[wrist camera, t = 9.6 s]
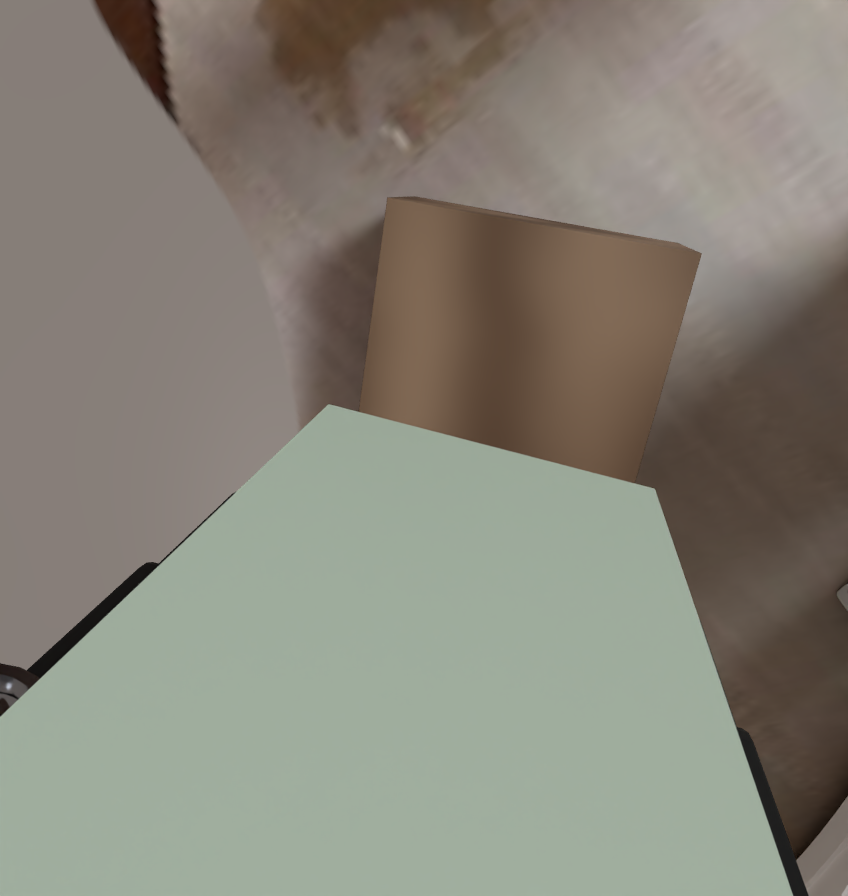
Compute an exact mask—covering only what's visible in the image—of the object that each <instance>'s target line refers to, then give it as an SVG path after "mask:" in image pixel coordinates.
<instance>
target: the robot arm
mask: <svg viewBox="0 0 848 896" xmlns="http://www.w3.org/2000/svg"><path fill="white" fill-rule="evenodd" d="M235 493H236V492H235ZM235 493H233V494H232V495H231V496H230V497H232V496H233V495H234V494H235ZM230 497H228V498H227V499H226V500H225V501H224V502H223V503H222V504H221V505H220V506H219V507H218V508H217V509H216V510H215V511H214V512H213V513H212V514H210V515H209V516H208V518H209V517H211V516H212V515H213V514H214V513H215V512H216V511H217V510H218V509H219V508H220V507H221V506H222V505H223V504H224V503H225V502H226V501H227V500H228V499H229V498H230ZM208 518H206V519H205V520H204V521H203V522H202V523H201V524H200V525H199V526H198V527H197V528H196V529H195V530H194V531H192V533H190V534H189V535H188V536H187V537H186V538H185V539H184V540H183V541H182V542H181V543H180V544H179V545H178V546H177V547H176V548H175V549H173V551H171V552H170V554H168V555H167V556H166V557H165V558H164V559H163V560H162V561H161V562H160V563H159V564H158V563H154V562H149V563H146V564H144V565H143V566H141V567H140V568H138V569H137V570H136V571H135V572H134V573H133V574H132V575H131V576H130V577H129V578H128V579H126V580H125V581H124V582H123V583H122V584H121V585H120V586H119V587H118V588H116V589H115V590H114V591H113V592H112V593H111V594H110V595H109V596H108V597H107V598H105V600H103V601H102V602H101V603H100V604H99V605H98V606H97V607H96V608H95V609H93V610H92V611H91V612H90V613H89V614H88V615H87V616H86V617H85V618H84V619H82V620H81V621H80V622H79V623H78V624H77V625H76V626H75V627H74V628H73V629H72V630H70V631H69V632H68V633H67V634H66V635H65V636H64V637H63V638H62V639H61V640H60V641H58V642H57V643H56V644H55V645H54V646H53V647H52V648H51V649H50V650H49V651H47V652H46V653H45V654H44V655H43V656H42V657H41V658H40V659H39V660H38V661H37V662H35V663H34V664H33V665H32V666H31V667H30V668H29V669H28V670H27V671H26V670H24V669H22V668H20V667H16V666H11V665H5V664H1V663H0V717H1V716H2V715H3V714H4V713H5V712H6V711H7V710H8V709H9V708H10V707H11V706H12V705H13V704H14V703H15V702H16V701H17V700H18V699H19V698H20V697H22V696H23V695H24V694H25V693H26V692H27V691H28V690H29V689H30V688H31V687H32V686H33V685H34V684H35V683H36V682H37V681H38V680H39V679H40V678H41V677H43V676H44V675H45V674H46V673H47V672H48V671H49V670H50V669H51V668H52V667H53V666H54V665H55V664H56V663H57V662H58V661H59V660H60V659H61V658H62V657H64V656H65V655H66V654H67V653H68V652H69V651H70V650H71V649H72V648H73V647H74V646H75V645H76V644H77V643H78V642H79V641H80V640H81V639H82V638H83V637H85V636H86V635H87V634H88V633H89V632H90V631H91V630H92V629H93V628H94V627H95V626H96V625H97V624H98V623H99V622H100V621H101V620H102V619H103V618H104V617H106V616H107V615H108V614H109V613H110V612H111V611H112V610H113V609H114V608H115V607H116V606H117V605H118V604H119V603H120V602H121V601H122V600H123V599H124V598H125V597H127V596H128V595H129V594H130V593H131V592H132V591H133V590H134V589H135V588H136V587H137V586H138V585H139V584H140V583H141V582H142V581H143V580H144V579H145V578H146V577H148V576H149V575H150V574H151V573H152V572H153V571H154V570H155V569H156V568H157V567H158V566H159V565H160V564H161V563H162V562H163V561H164V560H165V559H166V558H167V557H169V556H170V555H171V554H172V553H173V552H174V551H175V550H176V549H177V548H178V547H179V546H180V545H181V544H182V543H183V542H184V541H185V540H186V539H187V538H188V537H190V536H191V535H192V534H193V533H194V532H195V531H196V530H197V529H198V528H199V527H200V526H201V525H202V524H203V523H204V522H205V521H206V520H207V519H208ZM700 623H701V621H700ZM701 626H702V624H701ZM702 629H703V627H702ZM703 632H704V630H703ZM704 635H705V633H704ZM705 638H706V636H705ZM706 641H707V639H706ZM707 644H708V642H707ZM708 647H709V645H708ZM709 650H710V648H709ZM710 653H711V651H710ZM711 656H712V653H711ZM712 659H713V656H712ZM713 661H714V659H713ZM714 664H715V662H714ZM715 667H716V665H715ZM716 670H717V668H716ZM717 673H718V671H717ZM718 676H719V674H718ZM719 679H720V677H719ZM720 682H721V680H720ZM721 685H722V683H721ZM722 688H723V686H722ZM723 691H724V689H723ZM724 694H725V692H724ZM725 697H726V695H725ZM726 700H727V697H726ZM727 703H728V700H727ZM728 706H729V703H728ZM729 709H730V706H729ZM730 711H731V709H730ZM731 714H732V712H731ZM732 717H733V715H732ZM733 720H734V718H733ZM734 723H735V721H734ZM735 726H736V724H735ZM736 729H737V732H738V735H739V738H740V741H741V744H742V747H743V750H744V753H745V756H746V759H747V762H748V764H749V767H750V770H751V773H752V776H753V779H754V782H755V785H756V788H757V791H758V794H759V797H760V800H761V803H762V806H763V809H764V812H765V814H766V817H767V820H768V823H769V826H770V829H771V832H772V835H773V838H774V841H775V844H776V847H777V850H778V853H779V856H780V859H781V862H782V865H783V867H784V870H785V873H786V876H787V879H788V882H789V885H790V888H791V891H792V894H793V896H809V895H808V892H807V889H806V887H805V884H804V881H803V878H802V876H801V873H800V870H799V867H798V865H797V862H796V859H795V856H794V853H793V851H792V848H791V845H790V842H789V840H788V837H787V834H786V831H785V829H784V826H783V823H782V820H781V818H780V815H779V812H778V809H777V807H776V804H775V801H774V798H773V795H772V793H771V790H770V787H769V784H768V782H767V779H766V776H765V773H764V771H763V768H762V765H761V762H760V760H759V757H758V754H757V751H756V748H755V746H754V743H753V741H752V739H751V737H750V735H749V733H748V732H746V731H745V730H743V729H742V728H738V727H736Z"/></svg>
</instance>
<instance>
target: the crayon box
mask: <svg viewBox="0 0 848 896" xmlns="http://www.w3.org/2000/svg"><path fill="white" fill-rule="evenodd" d="M837 597H838V599H839V600H840V602H841V603H842V604H843V606H844V607H845V608H846V610H847V611H848V584H846V585H844V586H843V587H842V588H841V589H840V590H839V591H838V592H837Z"/></svg>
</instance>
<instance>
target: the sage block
mask: <svg viewBox="0 0 848 896" xmlns="http://www.w3.org/2000/svg"><path fill="white" fill-rule="evenodd" d="M0 896H793V894H792V891H791V888H790V885H789V882H788V879H787V876H786V873H785V870H784V867H783V865H782V862H781V859H780V856H779V853H778V850H777V847H776V844H775V841H774V838H773V835H772V832H771V829H770V826H769V823H768V820H767V817H766V814H765V812H764V809H763V806H762V803H761V800H760V797H759V794H758V791H757V788H756V785H755V782H754V779H753V776H752V773H751V770H750V767H749V764H748V762H747V759H746V756H745V753H744V750H743V747H742V744H741V741H740V738H739V735H738V732H737V729H736V726H735V723H734V720H733V717H732V714H731V711H730V709H729V706H728V703H727V700H726V697H725V694H724V691H723V688H722V685H721V682H720V679H719V676H718V673H717V670H716V667H715V664H714V661H713V659H712V656H711V653H710V650H709V647H708V644H707V641H706V638H705V635H704V632H703V629H702V626H701V623H700V620H699V617H698V614H697V611H696V609H695V606H694V603H693V600H692V597H691V594H690V591H689V588H688V585H687V582H686V579H685V576H684V573H683V570H682V567H681V564H680V561H679V558H678V556H677V553H676V550H675V547H674V544H673V541H672V538H671V535H670V532H669V529H668V526H667V523H666V520H665V517H664V514H663V511H662V508H661V506H660V503H659V500H658V497H657V494H656V491H655V489H654V488H650V487H646V486H642V485H639V484H635V483H631V482H627V481H623V480H619V479H615V478H612V477H608V476H604V475H600V474H596V473H592V472H588V471H585V470H581V469H577V468H573V467H569V466H565V465H561V464H558V463H554V462H550V461H546V460H542V459H538V458H534V457H531V456H527V455H523V454H519V453H515V452H511V451H507V450H504V449H500V448H496V447H492V446H488V445H484V444H480V443H477V442H473V441H469V440H465V439H461V438H457V437H453V436H450V435H446V434H442V433H438V432H434V431H430V430H427V429H423V428H419V427H415V426H411V425H407V424H403V423H400V422H396V421H392V420H388V419H384V418H380V417H376V416H373V415H369V414H365V413H361V412H357V411H353V410H349V409H346V408H342V407H338V406H334V405H330V404H328V405H327V406H326V407H325V408H324V409H323V410H322V411H321V412H320V413H319V414H318V415H317V416H316V417H314V418H313V419H312V420H311V421H310V422H309V423H308V424H307V425H306V426H305V427H304V428H303V429H302V430H301V431H300V432H299V433H298V434H297V435H296V436H295V437H294V438H292V439H291V440H290V441H289V442H288V443H287V444H286V445H285V446H284V447H283V448H282V449H281V450H280V451H279V452H278V453H277V454H276V455H275V456H274V457H272V458H271V459H270V460H269V461H268V462H267V463H266V464H265V465H264V466H263V467H262V468H261V469H260V470H259V471H258V472H257V473H256V474H255V475H254V476H253V477H252V478H250V479H249V481H247V482H246V483H245V484H244V485H243V486H242V487H241V488H240V489H239V490H238V491H237V492H236V493H235V494H234V495H233V496H232V497H230V498H229V499H228V500H227V501H226V502H225V503H224V504H223V505H222V506H221V507H220V508H219V509H218V510H217V511H216V512H215V513H214V514H213V515H212V516H211V517H209V518H208V519H207V520H206V521H205V522H204V523H203V524H202V525H201V526H200V527H199V528H198V529H197V530H196V531H195V532H194V533H193V534H192V535H191V536H190V537H188V538H187V539H186V540H185V541H184V542H183V543H182V544H181V545H180V546H179V547H178V548H177V549H176V550H175V551H174V552H173V553H172V554H171V555H170V556H169V557H167V558H166V559H165V560H164V561H163V562H162V563H161V564H160V565H159V566H158V567H157V568H156V569H155V570H154V571H153V572H152V573H151V574H150V575H149V576H148V577H146V578H145V579H144V580H143V581H142V582H141V583H140V584H139V585H138V586H137V587H136V588H135V589H134V590H133V591H132V592H131V593H130V594H129V595H128V596H127V597H125V598H124V599H123V600H122V601H121V602H120V603H119V604H118V605H117V606H116V607H115V608H114V609H113V610H112V611H111V612H110V613H109V614H108V615H107V616H106V617H104V618H103V619H102V620H101V621H100V622H99V623H98V624H97V625H96V626H95V627H94V628H93V629H92V630H91V631H90V632H89V633H88V634H87V635H86V636H85V637H83V638H82V639H81V640H80V641H79V642H78V643H77V644H76V645H75V646H74V647H73V648H72V649H71V650H70V651H69V652H68V653H67V654H66V655H65V656H64V657H62V658H61V659H60V660H59V661H58V662H57V663H56V664H55V665H54V666H53V667H52V668H51V669H50V670H49V671H48V672H47V673H46V674H45V675H44V676H43V677H41V678H40V679H39V680H38V681H37V682H36V683H35V684H34V685H33V686H32V687H31V688H30V689H29V690H28V691H27V692H26V693H25V694H24V695H23V696H22V697H20V698H19V699H18V700H17V701H16V702H15V703H14V704H13V705H12V706H11V707H10V708H9V709H8V710H7V711H6V712H5V713H4V714H3V715H2V716H1V717H0Z"/></svg>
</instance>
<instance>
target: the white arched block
mask: <svg viewBox="0 0 848 896" xmlns="http://www.w3.org/2000/svg"><path fill="white" fill-rule="evenodd" d="M796 862H797V865H798V867H799V870H800V873H801V876H802V878H803V881H804V884H805V887H806V889H807V892H808V895H809V896H848V796H847V798H846V799H845V800H844V802H843V803H842V805H841V806H840V807H839V809H838V810H837V811H836V813H835V814H834V816H833V817H832V818H831V819H830V821H829V822H828V823H827V825H826V826H825V827H824V828H823V830H822V831H821V832H820V834H819V835H818V836H817V837H816V838H815V840H814V841H813V842H812V843H811V844H810V846H809V847H808V848H807V849H806V850H805V851H804V852H803V854H802V855H801V856H800V857H799V858H798V859H797V860H796Z"/></svg>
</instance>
